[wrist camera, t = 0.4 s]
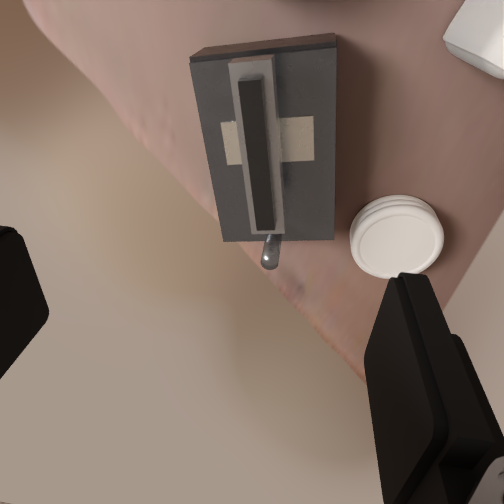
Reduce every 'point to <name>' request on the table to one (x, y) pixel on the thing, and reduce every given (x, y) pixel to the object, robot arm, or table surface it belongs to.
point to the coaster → (396, 236)
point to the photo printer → (479, 35)
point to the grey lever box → (291, 135)
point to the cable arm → (259, 141)
